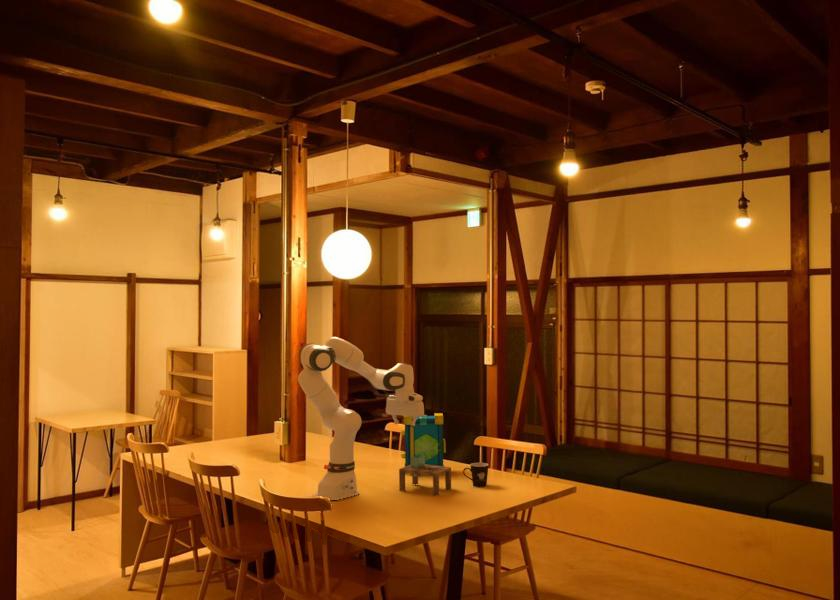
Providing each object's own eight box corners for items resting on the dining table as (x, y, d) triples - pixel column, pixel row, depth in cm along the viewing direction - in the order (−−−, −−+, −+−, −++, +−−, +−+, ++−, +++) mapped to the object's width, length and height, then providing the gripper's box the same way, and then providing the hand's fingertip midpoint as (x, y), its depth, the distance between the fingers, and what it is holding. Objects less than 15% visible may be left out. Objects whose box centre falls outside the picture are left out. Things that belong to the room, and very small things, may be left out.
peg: (418, 477, 316) (418, 458, 317) (411, 476, 318) (410, 457, 319) (424, 474, 322) (424, 455, 322) (417, 474, 324) (417, 455, 324)
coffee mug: (490, 483, 327) (489, 463, 327) (487, 488, 319) (486, 466, 319) (466, 482, 330) (466, 462, 331) (462, 487, 322) (462, 465, 322)
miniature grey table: (451, 488, 319) (450, 467, 319) (437, 495, 307) (436, 473, 307) (414, 483, 329) (414, 463, 329) (399, 490, 317) (399, 469, 317)
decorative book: (446, 475, 346) (445, 416, 347) (400, 476, 346) (400, 417, 346) (444, 469, 360) (444, 412, 361) (401, 469, 360) (400, 413, 361)
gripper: (383, 395, 333) (383, 424, 332) (418, 398, 322) (418, 427, 322) (390, 394, 338) (390, 422, 338) (425, 396, 328) (425, 425, 327)
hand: (404, 424), depth 330 cm, fingers open, 8 cm apart
